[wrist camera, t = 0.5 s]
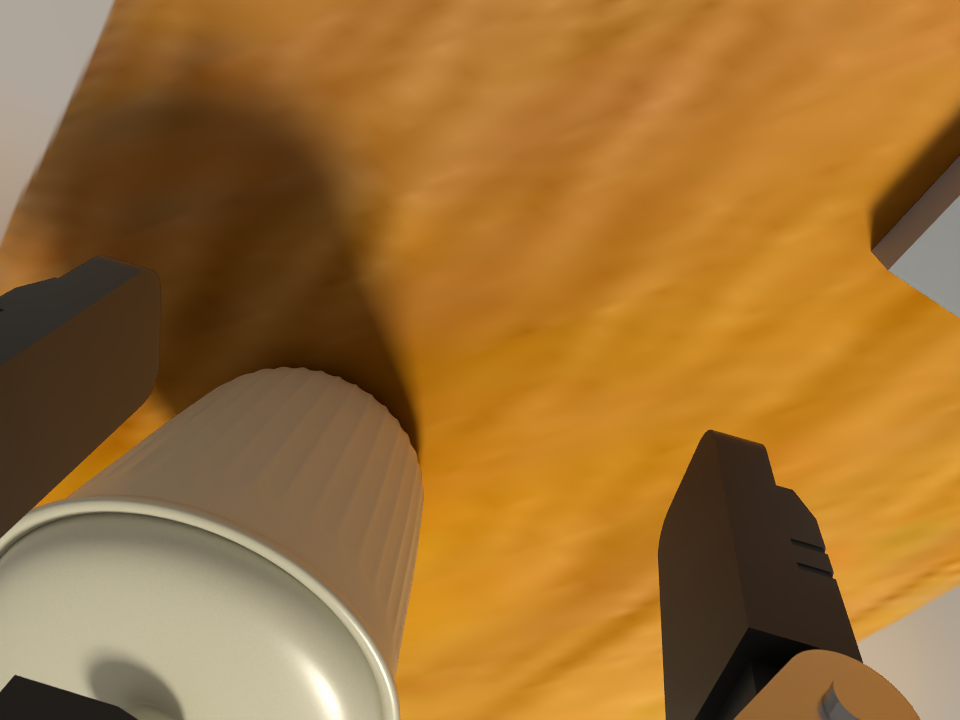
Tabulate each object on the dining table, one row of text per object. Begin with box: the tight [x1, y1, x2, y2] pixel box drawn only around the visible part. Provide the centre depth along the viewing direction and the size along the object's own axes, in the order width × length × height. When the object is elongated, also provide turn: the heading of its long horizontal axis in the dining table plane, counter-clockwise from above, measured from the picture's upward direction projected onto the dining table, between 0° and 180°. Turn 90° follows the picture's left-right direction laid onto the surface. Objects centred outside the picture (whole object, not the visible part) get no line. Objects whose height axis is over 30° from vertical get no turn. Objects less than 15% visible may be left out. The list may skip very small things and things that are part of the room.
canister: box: [0, 367, 424, 720], centre depth 36 cm, size 18×18×21 cm
